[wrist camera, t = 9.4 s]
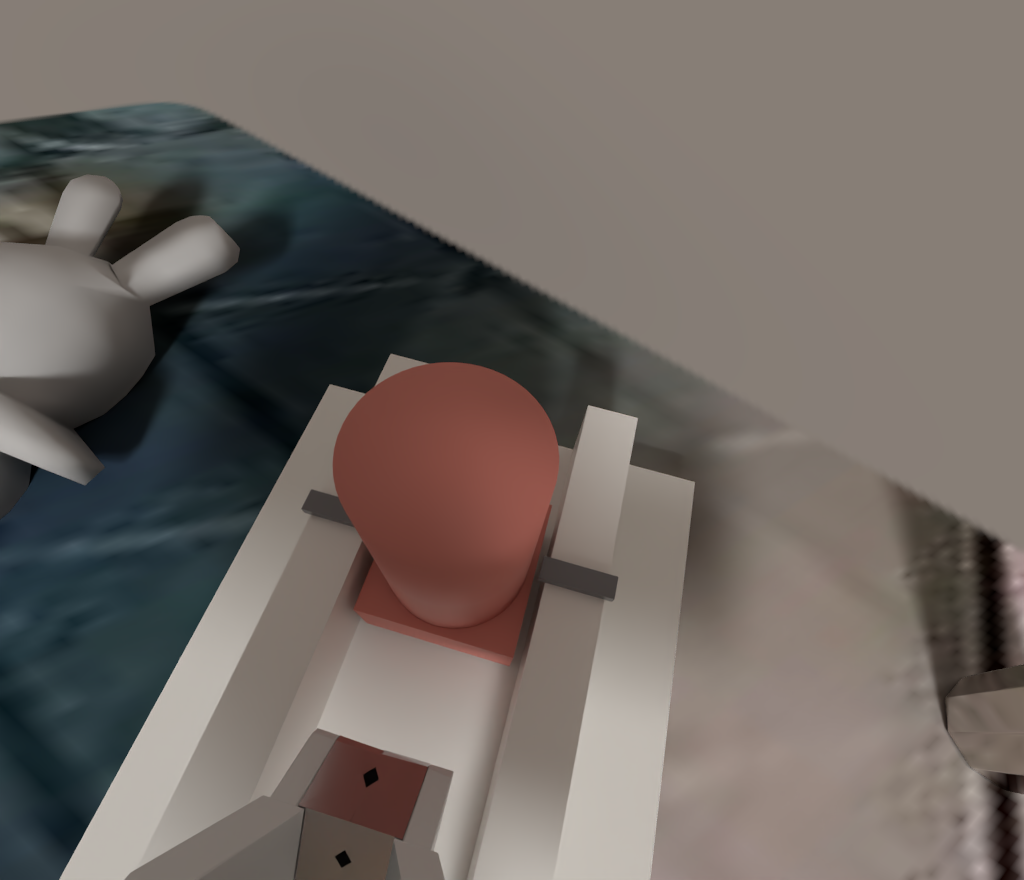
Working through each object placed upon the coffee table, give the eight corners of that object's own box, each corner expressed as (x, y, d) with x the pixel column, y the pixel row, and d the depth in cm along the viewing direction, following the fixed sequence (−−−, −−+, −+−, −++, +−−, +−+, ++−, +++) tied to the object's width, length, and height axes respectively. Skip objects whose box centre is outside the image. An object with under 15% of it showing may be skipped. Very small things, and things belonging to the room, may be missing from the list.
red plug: (366, 622, 16) (274, 532, 9) (418, 492, 18) (379, 331, 11) (509, 666, 15) (537, 610, 8) (544, 528, 17) (591, 386, 10)
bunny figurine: (-367, 446, 15) (24, 116, 20) (-157, 497, 20) (115, 218, 25) (-122, 587, 14) (229, 191, 19) (41, 606, 18) (285, 285, 24)
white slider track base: (79, 902, 14) (-98, 978, 10) (339, 405, 21) (305, 326, 17) (605, 1095, 13) (670, 1276, 8) (680, 498, 20) (734, 437, 16)
